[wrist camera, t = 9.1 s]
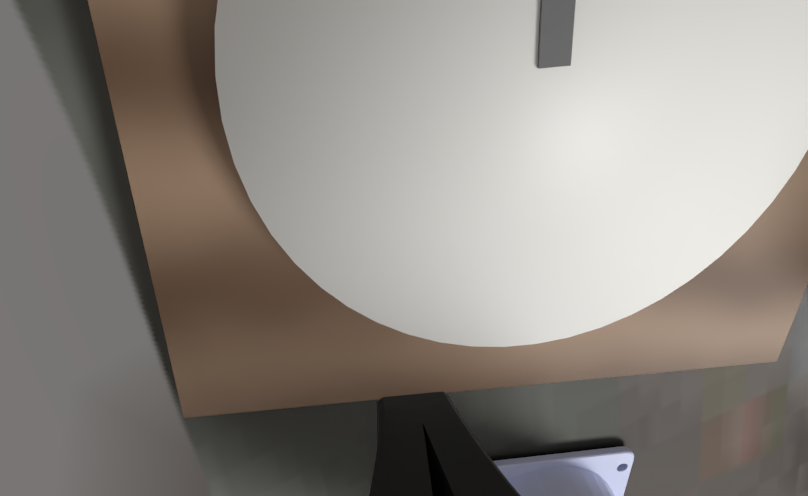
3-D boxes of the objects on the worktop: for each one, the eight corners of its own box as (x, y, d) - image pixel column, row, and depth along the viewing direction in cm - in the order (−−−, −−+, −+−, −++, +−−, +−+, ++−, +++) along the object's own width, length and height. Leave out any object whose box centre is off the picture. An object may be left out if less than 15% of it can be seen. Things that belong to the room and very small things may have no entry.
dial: (754, 294, 23) (848, 372, 19) (279, 362, 21) (274, 463, 17) (933, -349, 14) (1183, -457, 10) (133, -326, 12) (50, -445, 8)
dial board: (760, 346, 26) (778, 363, 25) (188, 398, 22) (183, 420, 22) (1064, -453, 14) (1119, -480, 13) (-27, -578, 11) (-59, -627, 10)
